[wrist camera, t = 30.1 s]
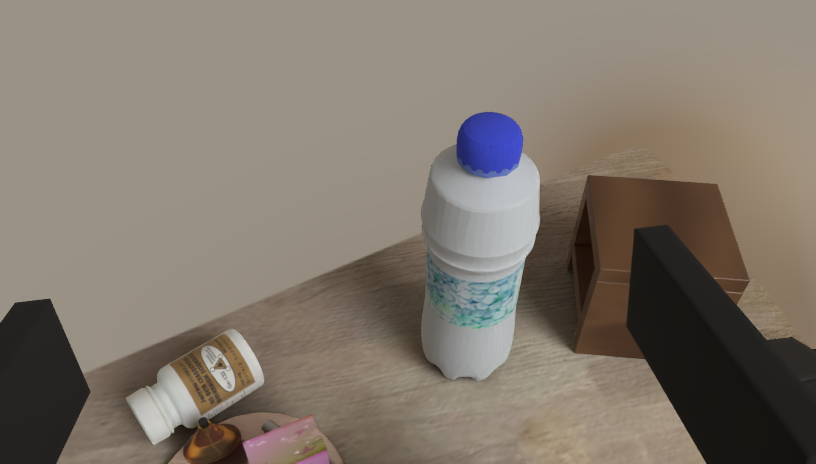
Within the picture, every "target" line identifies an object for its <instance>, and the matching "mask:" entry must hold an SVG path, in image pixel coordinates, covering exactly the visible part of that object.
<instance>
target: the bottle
mask: <svg viewBox="0 0 816 464" xmlns="http://www.w3.org/2000/svg"><path fill="white" fill-rule="evenodd" d="M522 147H523V136H522V132H521V129H520V127H519V125H518V124H517V123H516V122H515V121H514V120H513V119H511V118H510V117H508V116H506V115H503V114H500V113H494V112H484V113H478V114H475V115H473V116H471V117H469V118H468V119H467V120H465V122H464V123H463V124H462V126H461V127H460V130H459V132H458V136H457V144H456V145H453V146H451V147H449V148H447V149H445V150H444V151H442V152H441V153H440V154H439V155H438V156H437V157H436V159H435V160H434V162H433V164H432V165H431V169H430V174H429V178H428V183H427V188H426V193H425V198H424V201H423V204H422V209H421V218H422V222H423V223H422V235H423V238H424V241H425V243H426V245H427V261H426V289H425V292H426V293H425V301H424V308H423V314H422V323H421V338H422V346H423V351H424V354H425V356H426V358H427V360H428V361H429V362H430V363H432V364H435V365H436V366H437V367H438V368H439V369H440V370H441V371H442V373H443V375H444V376H445V377H446V378H448V379H451V380H456V379H457V378H458V377H472V378H473V380H474V381H476V382H477V381H482V380H484V379H486V378H487V377H488V376H489V375H490V374H491V373H492V372H493V371H494V370H495V369H496V368H497V367H499V366H501V365H503V364H504V362H505V361H506V360H507V358H508V355H509V353H510V349H511V346H512V342H513V336H514V328H515V313H516V304H517V300H518V294H519V289H520V284H521V279H522V273H523V268H524V263H525V258H526V256H527V255H528V254H529V252H530V251H531V249H532V248H533V246H534V242H535V238H536V233H537V231H538V228H539V223H540V215H539V191H540V178H539V174H538V170H537V168H536V166H535V164H534V163H533V162H532V160H531V159H530V158H529V157H528V156H527V155H525V154H524V153H523V152H522Z"/></svg>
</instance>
